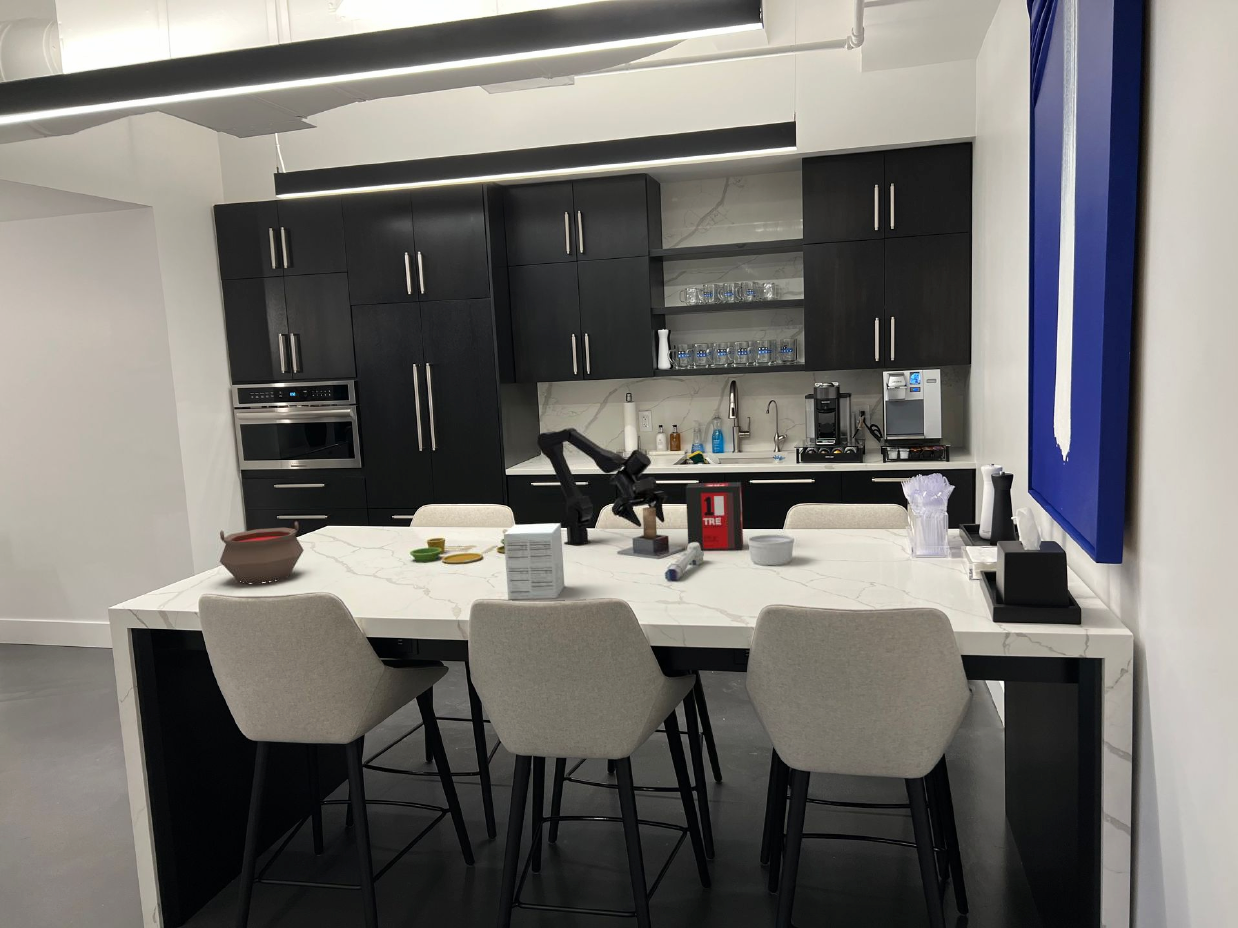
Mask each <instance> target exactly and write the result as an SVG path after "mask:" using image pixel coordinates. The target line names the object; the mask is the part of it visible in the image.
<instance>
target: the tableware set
mask: <svg viewBox="0 0 1238 928" xmlns="http://www.w3.org/2000/svg"><path fill="white" fill-rule="evenodd" d="M508 530H509V529H503V530H502V533H503V535H504V534H505V533H506V532H507V531H508ZM426 543H427V546H428V547H423V548H417V549H414V550H411V551H410V552H409V554H410V555H411V556H412V557H413V559H414V560H415V562H420V563H428V562H433V561H436V560H438V557H440V555H444V554H445V552H449V553H451V552H453V554H450V555H446V556H444V557H442V558H441V561H442V562H443V563H444V564H447V565H450V564H451V565H461V564H462V563H464V564H470V563H471V564H472V563H475V562H478V561H480V560H482V558H483V557H484V556H483V554H489V553H491V552H492V551H494V548H496V551H497V552H498V553H500V552H501V553H500V554H504V553H505V545H504V538H502V539H501V540H500V543H501V544H502V545H501V546H499V547H498V545H497V544H496V545H495V544H494V545H492V546H490V547H489V548H487V549H485V550H483V551H481V552H480V553H478V552H468V551H470V550H472V549H474V548H477V545H474V544H472V545H471V544H470V545H446V538H444V537H434V538H430V539H427V540H426ZM455 552H456V553H455ZM459 552H460V553H459ZM463 552H464V553H463ZM488 552H489V553H488ZM474 561H475V562H474Z"/></svg>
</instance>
